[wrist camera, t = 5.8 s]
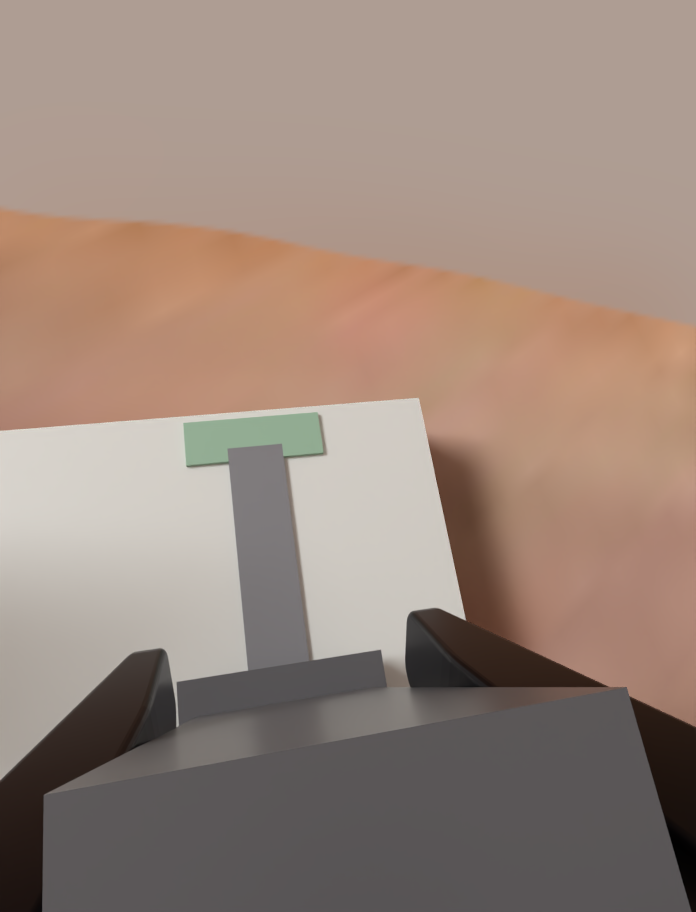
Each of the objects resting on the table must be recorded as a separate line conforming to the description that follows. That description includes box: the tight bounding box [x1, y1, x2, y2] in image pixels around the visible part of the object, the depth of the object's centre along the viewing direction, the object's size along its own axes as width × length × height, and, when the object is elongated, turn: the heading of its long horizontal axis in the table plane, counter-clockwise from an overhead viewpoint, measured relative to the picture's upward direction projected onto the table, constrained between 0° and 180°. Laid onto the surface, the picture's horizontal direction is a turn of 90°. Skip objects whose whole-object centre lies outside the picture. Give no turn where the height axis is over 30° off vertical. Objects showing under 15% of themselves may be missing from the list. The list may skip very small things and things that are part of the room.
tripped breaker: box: [42, 650, 691, 912], centre depth 7 cm, size 3×4×9 cm
